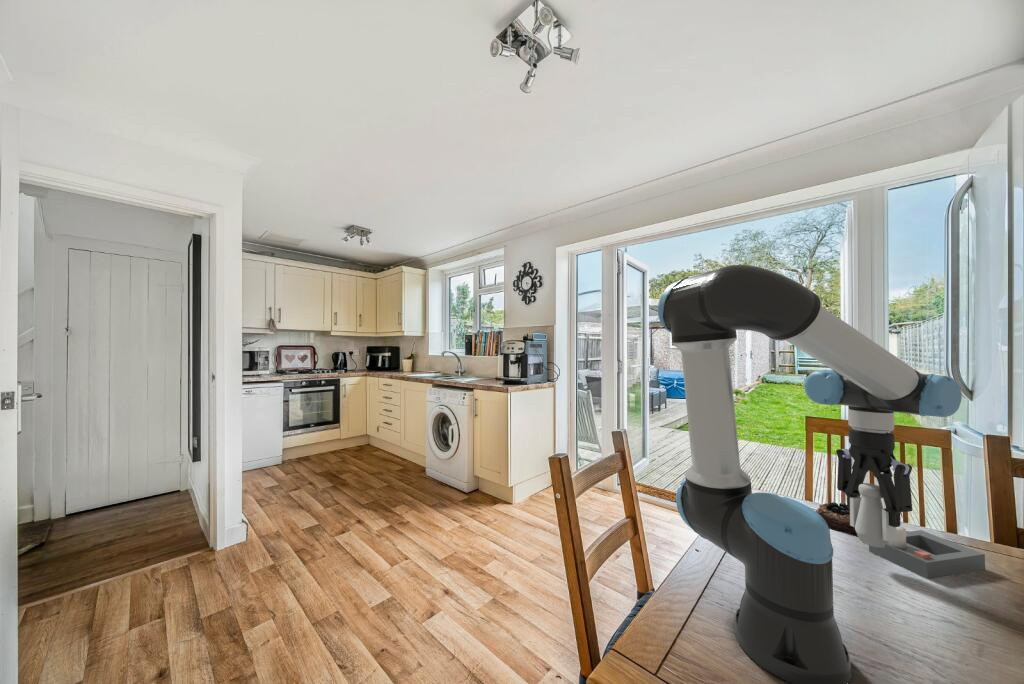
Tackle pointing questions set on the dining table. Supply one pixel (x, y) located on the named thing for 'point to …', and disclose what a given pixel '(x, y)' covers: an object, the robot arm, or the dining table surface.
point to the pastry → (837, 517)
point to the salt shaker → (870, 516)
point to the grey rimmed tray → (930, 555)
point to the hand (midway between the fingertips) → (872, 532)
